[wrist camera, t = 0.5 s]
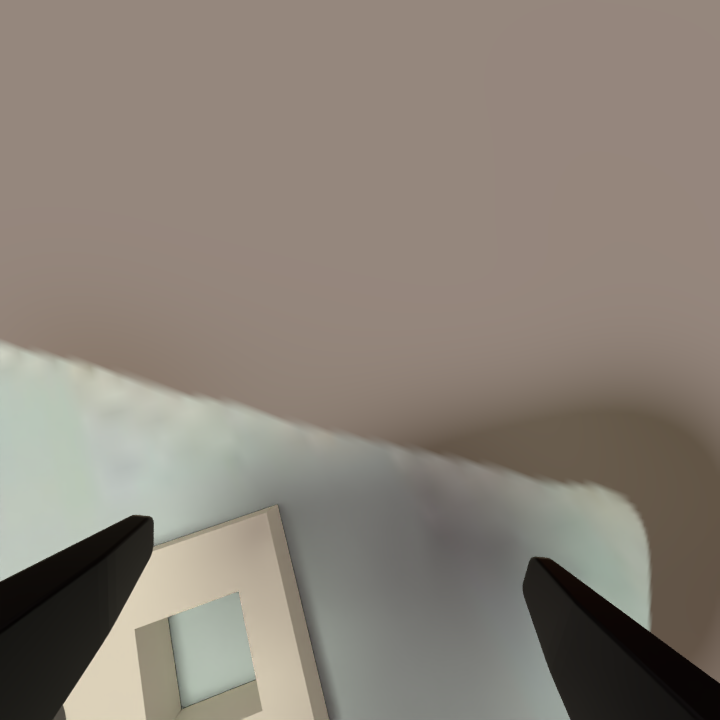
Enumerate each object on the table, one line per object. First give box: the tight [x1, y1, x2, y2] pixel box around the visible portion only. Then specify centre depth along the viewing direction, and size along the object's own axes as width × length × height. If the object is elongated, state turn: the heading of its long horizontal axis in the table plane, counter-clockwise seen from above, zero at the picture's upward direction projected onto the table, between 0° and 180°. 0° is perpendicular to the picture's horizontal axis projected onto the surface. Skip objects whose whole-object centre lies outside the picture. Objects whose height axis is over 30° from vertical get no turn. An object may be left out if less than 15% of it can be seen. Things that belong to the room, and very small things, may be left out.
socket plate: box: [53, 504, 329, 720], centre depth 18 cm, size 12×18×3 cm, turn 108°
